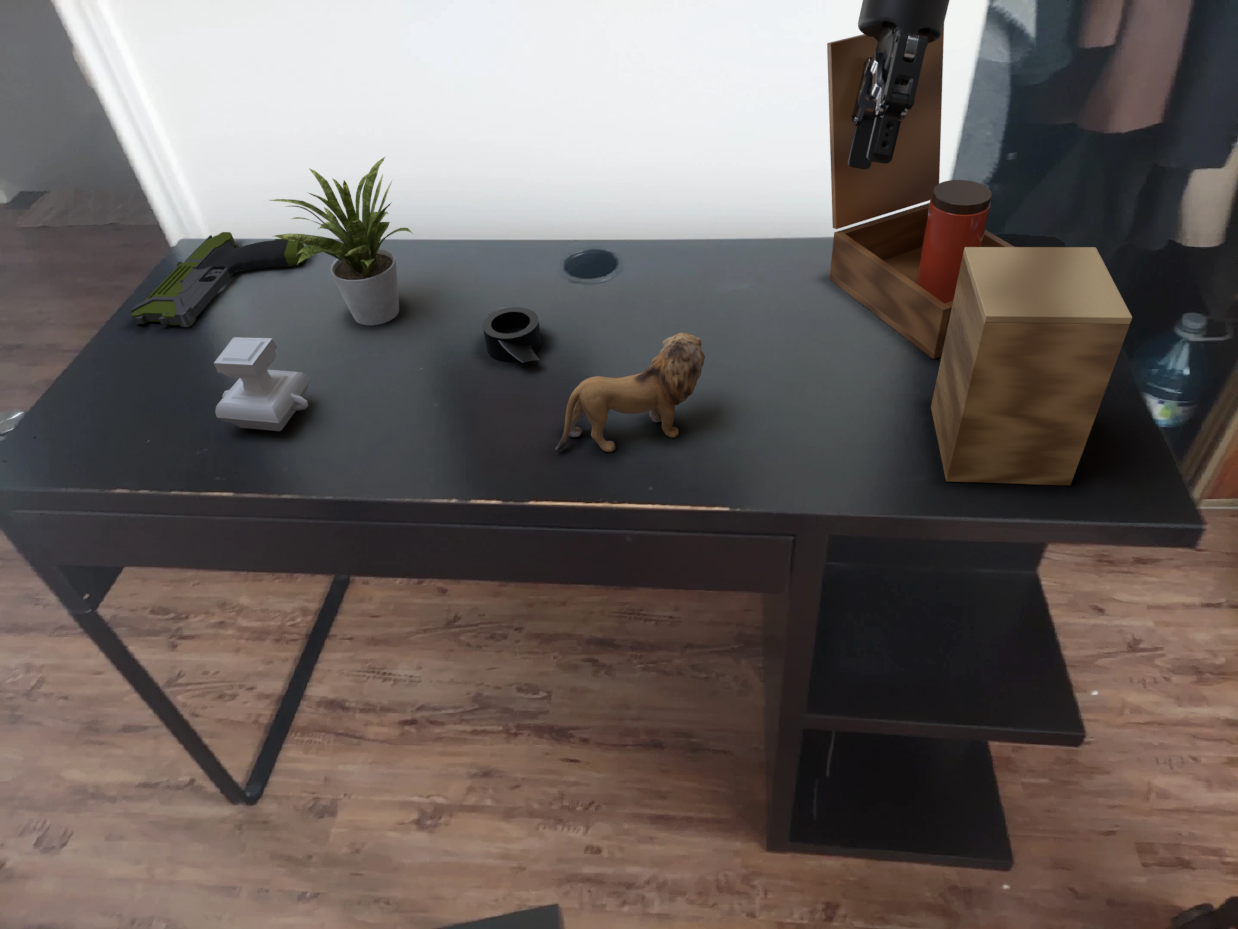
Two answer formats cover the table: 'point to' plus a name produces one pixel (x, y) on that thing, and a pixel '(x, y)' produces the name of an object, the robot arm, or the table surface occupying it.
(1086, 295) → the cork trivet
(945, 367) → the oak stand
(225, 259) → the gun
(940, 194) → the spice jar
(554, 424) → the table surface
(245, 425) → the stamp
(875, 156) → the robot arm
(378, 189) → the house plant
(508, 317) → the duct tape
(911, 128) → the box lid
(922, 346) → the wooden box
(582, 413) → the lion figurine
